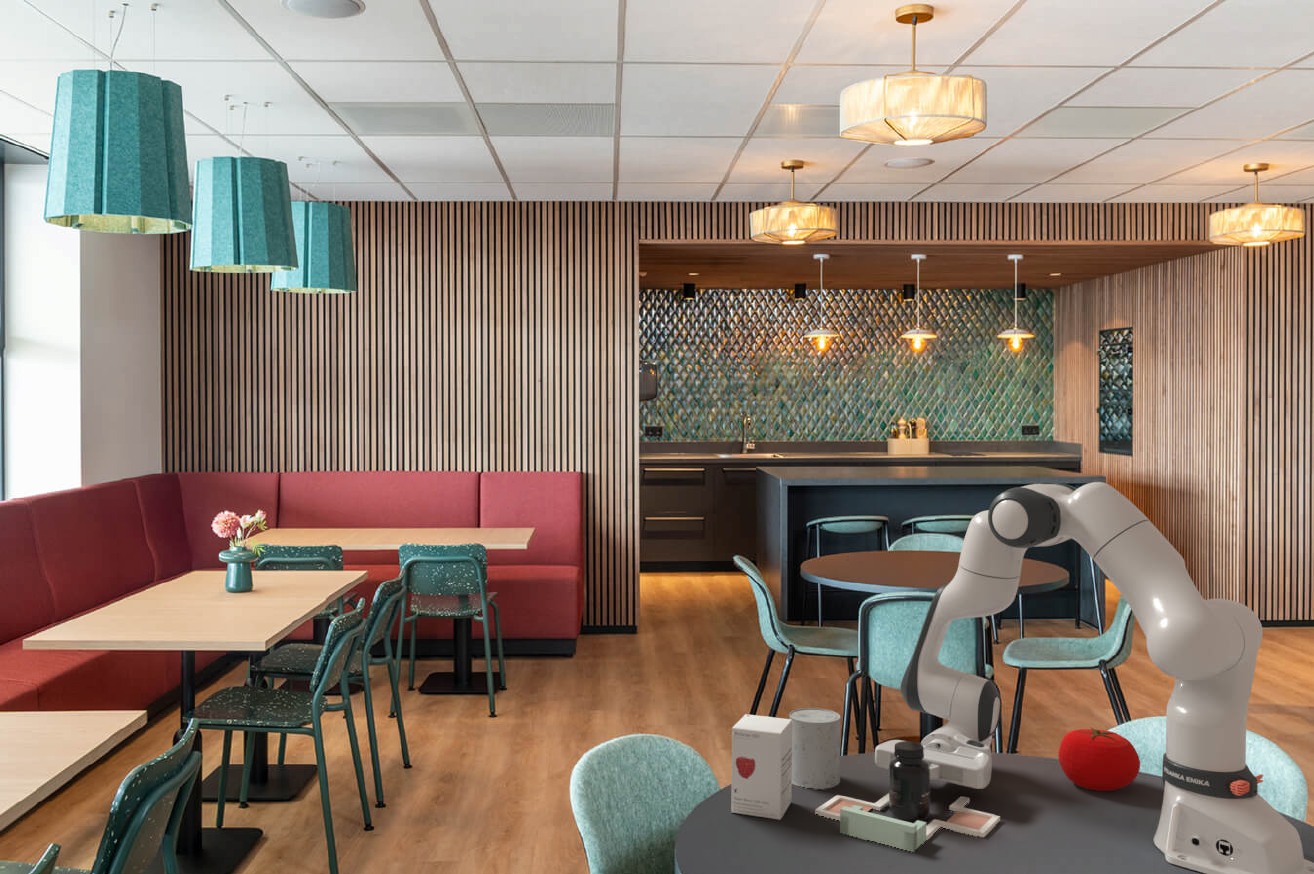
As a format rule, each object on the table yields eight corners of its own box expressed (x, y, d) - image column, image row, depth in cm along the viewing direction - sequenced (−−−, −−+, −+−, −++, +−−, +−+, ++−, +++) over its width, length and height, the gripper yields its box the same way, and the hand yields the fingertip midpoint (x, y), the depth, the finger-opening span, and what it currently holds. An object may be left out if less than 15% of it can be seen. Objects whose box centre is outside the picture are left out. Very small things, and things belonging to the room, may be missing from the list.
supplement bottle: (933, 823, 168) (932, 753, 168) (892, 822, 169) (890, 753, 168) (927, 806, 175) (925, 738, 174) (887, 805, 176) (885, 738, 175)
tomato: (1041, 778, 190) (1042, 724, 190) (1089, 768, 196) (1089, 715, 196) (1105, 804, 177) (1106, 745, 177) (1154, 792, 183) (1155, 735, 183)
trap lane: (867, 779, 190) (867, 758, 189) (1009, 811, 174) (1009, 788, 174) (801, 823, 169) (802, 799, 169) (957, 864, 153) (957, 838, 153)
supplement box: (729, 813, 173) (729, 726, 173) (743, 795, 181) (743, 712, 181) (781, 821, 170) (781, 732, 169) (793, 802, 178) (793, 718, 178)
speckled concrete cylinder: (810, 768, 196) (810, 705, 196) (850, 780, 189) (851, 715, 188) (778, 779, 189) (778, 714, 189) (818, 793, 182) (819, 726, 182)
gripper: (891, 727, 192) (860, 745, 181) (999, 748, 180) (972, 769, 168) (891, 760, 192) (860, 780, 181) (999, 783, 180) (972, 806, 169)
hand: (915, 775), depth 175 cm, fingers closed, pressing on supplement bottle
